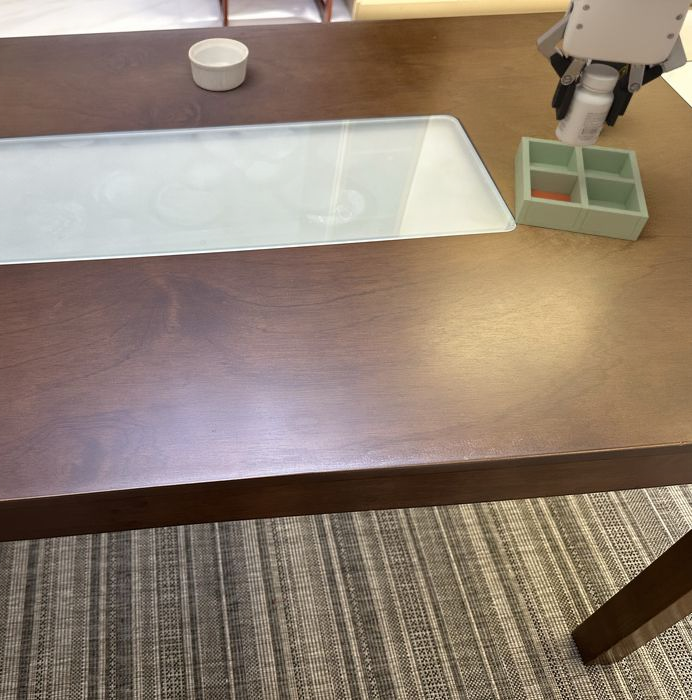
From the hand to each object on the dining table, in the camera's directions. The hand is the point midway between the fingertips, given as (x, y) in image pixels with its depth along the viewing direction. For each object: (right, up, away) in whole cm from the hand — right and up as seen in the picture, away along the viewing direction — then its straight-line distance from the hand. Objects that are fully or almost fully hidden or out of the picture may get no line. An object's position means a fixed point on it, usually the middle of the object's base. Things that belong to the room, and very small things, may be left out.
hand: (584, 115), depth 78 cm
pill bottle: (0, -2, +2) cm, 3 cm away
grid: (+4, -7, +11) cm, 14 cm away
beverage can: (+10, +5, +22) cm, 25 cm away
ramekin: (-40, +15, +31) cm, 53 cm away
